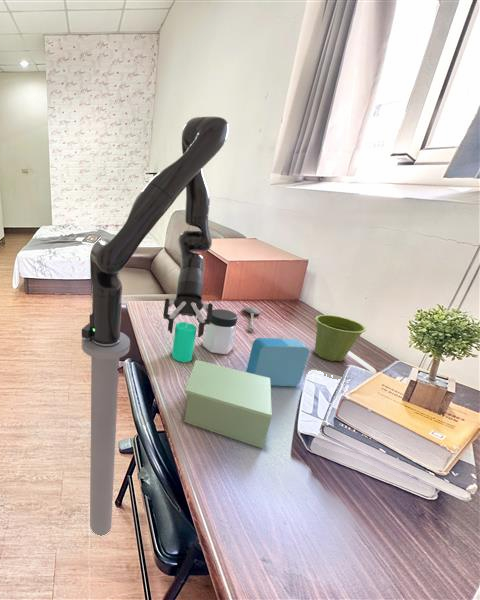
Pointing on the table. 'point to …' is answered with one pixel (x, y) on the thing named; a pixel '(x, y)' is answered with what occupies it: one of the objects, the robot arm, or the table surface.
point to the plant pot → (336, 336)
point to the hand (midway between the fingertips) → (185, 334)
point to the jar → (220, 331)
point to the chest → (227, 420)
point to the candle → (183, 342)
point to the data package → (278, 360)
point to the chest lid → (231, 388)
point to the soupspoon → (251, 311)
